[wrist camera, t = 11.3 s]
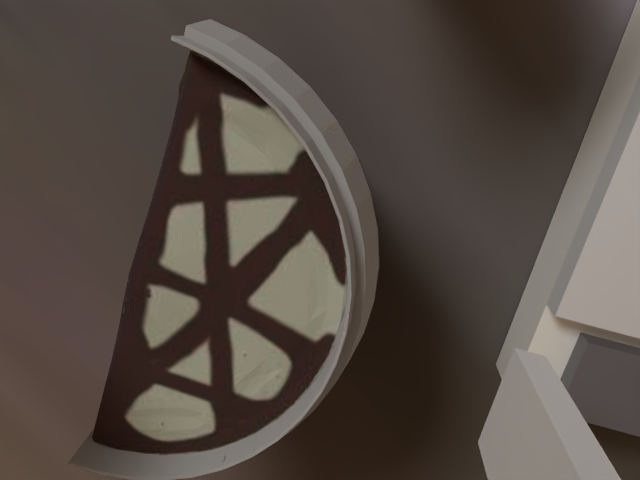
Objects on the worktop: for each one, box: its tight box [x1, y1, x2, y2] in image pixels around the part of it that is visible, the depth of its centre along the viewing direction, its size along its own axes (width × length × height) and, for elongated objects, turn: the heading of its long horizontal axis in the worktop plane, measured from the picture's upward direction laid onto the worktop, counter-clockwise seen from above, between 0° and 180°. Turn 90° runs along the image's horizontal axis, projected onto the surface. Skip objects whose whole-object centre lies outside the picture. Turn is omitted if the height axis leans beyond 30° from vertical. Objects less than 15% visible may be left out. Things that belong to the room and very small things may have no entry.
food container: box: [68, 19, 379, 480], centre depth 17 cm, size 12×6×10 cm, turn 161°
